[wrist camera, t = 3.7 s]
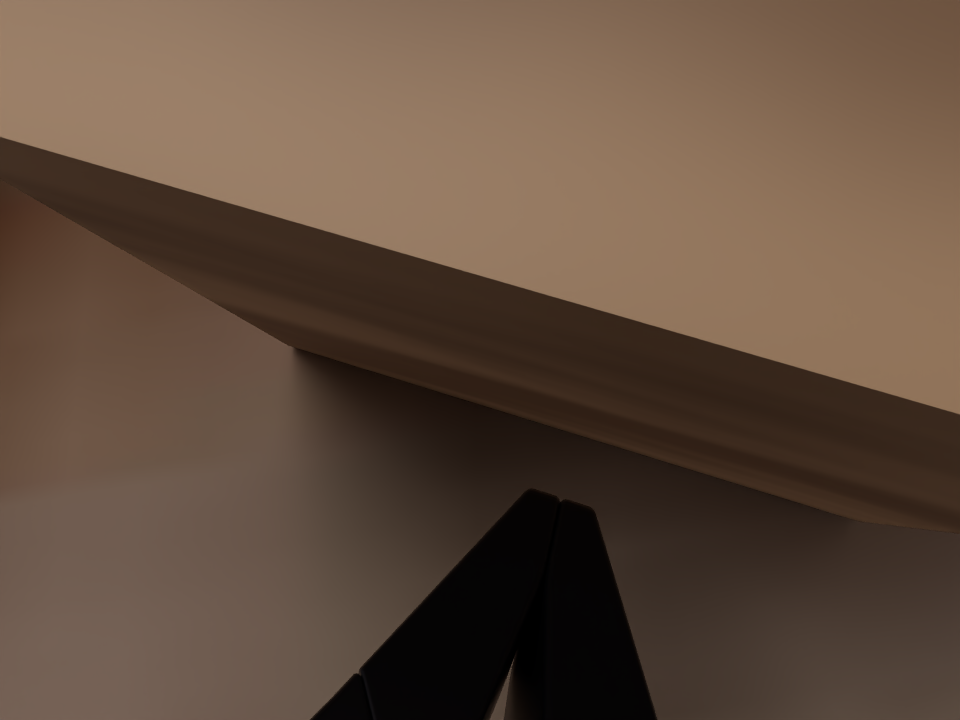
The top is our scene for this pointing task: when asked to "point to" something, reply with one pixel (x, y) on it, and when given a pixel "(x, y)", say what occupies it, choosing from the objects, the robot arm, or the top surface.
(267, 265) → the walnut t block
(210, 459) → the top surface
